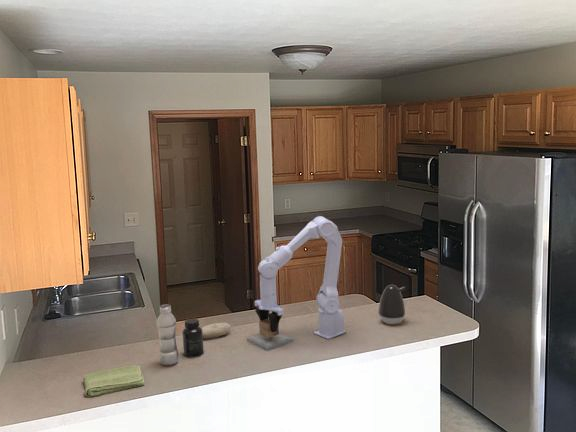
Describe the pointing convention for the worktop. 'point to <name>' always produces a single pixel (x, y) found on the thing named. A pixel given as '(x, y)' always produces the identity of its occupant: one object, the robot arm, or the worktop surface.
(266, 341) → the grey framed panel
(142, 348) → the worktop surface
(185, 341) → the supplement bottle
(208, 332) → the stone
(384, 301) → the pump dispenser
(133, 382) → the washcloth
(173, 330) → the plastic bottle
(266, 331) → the cube
